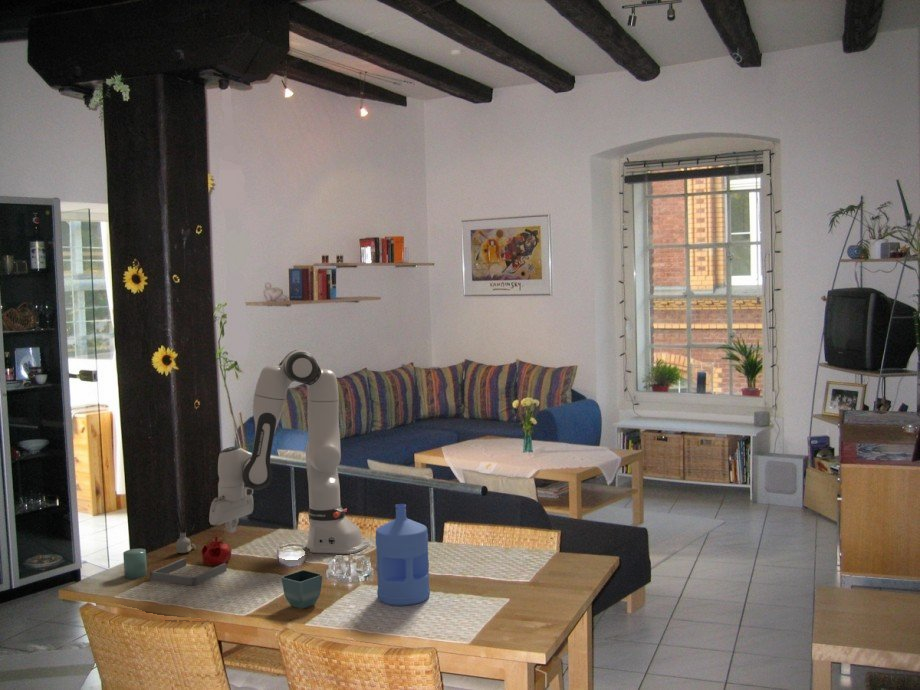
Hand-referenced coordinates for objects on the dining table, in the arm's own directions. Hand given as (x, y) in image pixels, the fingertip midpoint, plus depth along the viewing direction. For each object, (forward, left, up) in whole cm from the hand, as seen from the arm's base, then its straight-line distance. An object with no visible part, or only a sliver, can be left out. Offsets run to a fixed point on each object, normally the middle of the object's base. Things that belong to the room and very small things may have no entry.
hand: (231, 532), depth 320 cm
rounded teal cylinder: (+16, +29, -8) cm, 35 cm away
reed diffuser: (+19, +3, -8) cm, 21 cm away
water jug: (-78, +18, -8) cm, 80 cm away
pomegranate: (-1, +9, -8) cm, 13 cm away
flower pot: (-53, +34, -8) cm, 63 cm away
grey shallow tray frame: (-1, +22, -8) cm, 24 cm away
